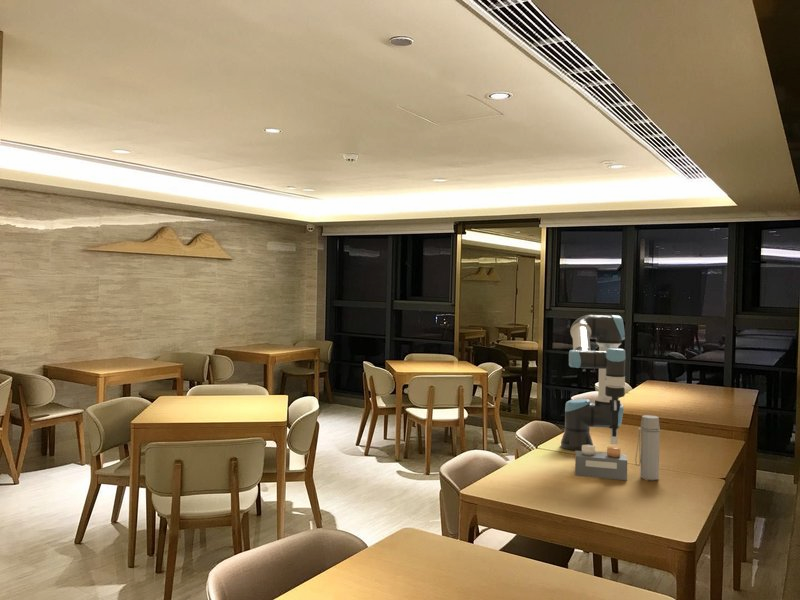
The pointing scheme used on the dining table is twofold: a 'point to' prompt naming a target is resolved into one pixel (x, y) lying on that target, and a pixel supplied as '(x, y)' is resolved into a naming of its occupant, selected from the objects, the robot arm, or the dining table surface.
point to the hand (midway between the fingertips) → (613, 443)
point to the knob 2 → (613, 451)
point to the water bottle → (649, 447)
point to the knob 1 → (588, 449)
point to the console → (601, 466)
